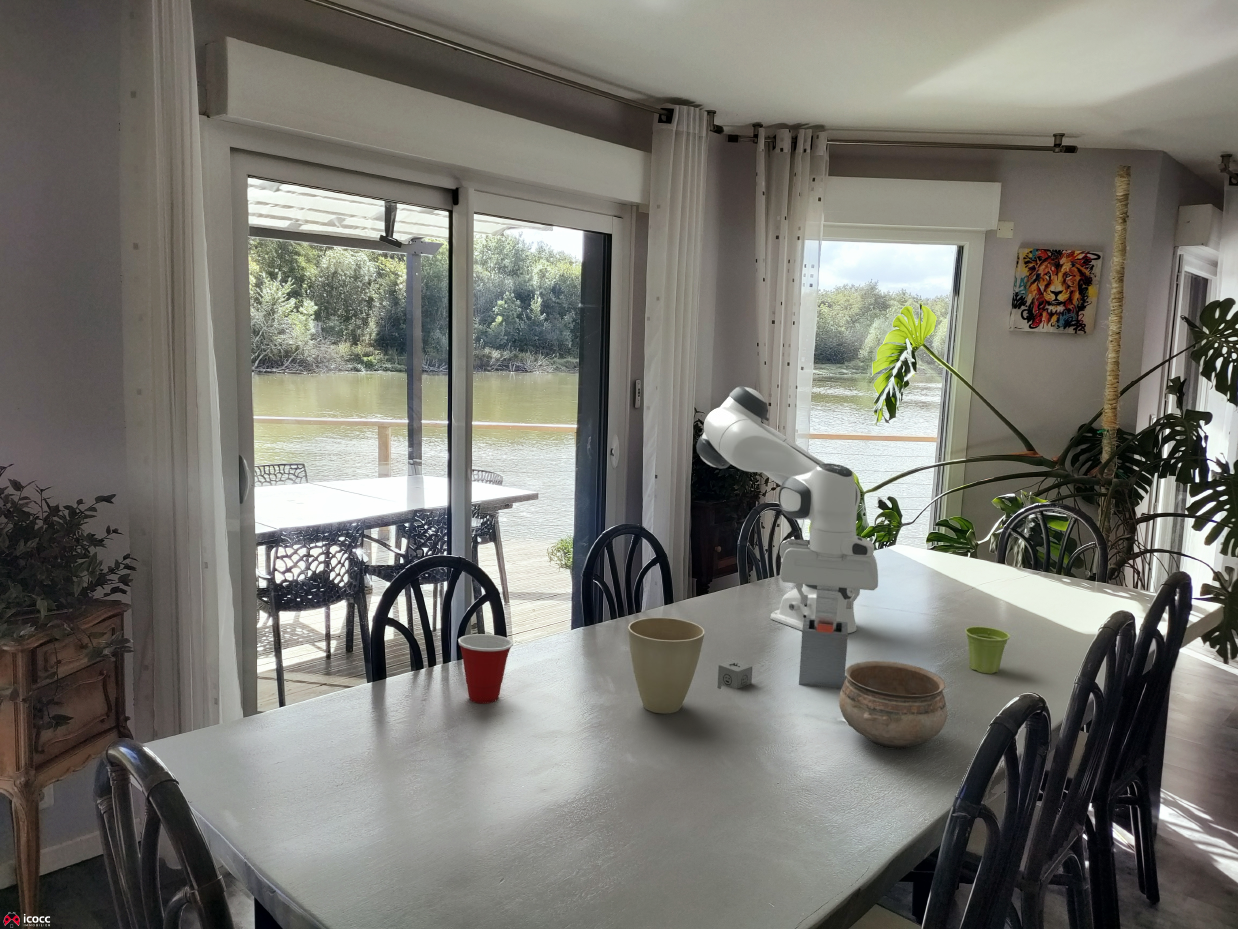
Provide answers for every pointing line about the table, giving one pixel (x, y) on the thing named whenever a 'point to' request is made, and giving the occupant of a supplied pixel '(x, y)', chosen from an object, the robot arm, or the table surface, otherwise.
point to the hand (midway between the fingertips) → (826, 606)
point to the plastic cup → (484, 665)
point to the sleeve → (823, 654)
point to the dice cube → (734, 674)
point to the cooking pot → (893, 703)
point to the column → (826, 606)
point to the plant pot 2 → (986, 648)
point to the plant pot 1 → (664, 660)
